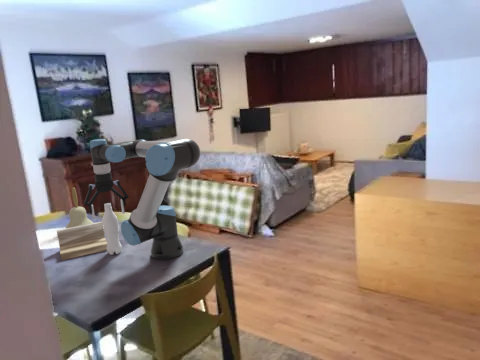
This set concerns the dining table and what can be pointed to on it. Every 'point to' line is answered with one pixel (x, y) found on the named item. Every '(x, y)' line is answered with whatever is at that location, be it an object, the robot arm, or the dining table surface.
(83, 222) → the handbell
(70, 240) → the board
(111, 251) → the water bottle
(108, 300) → the dining table surface
